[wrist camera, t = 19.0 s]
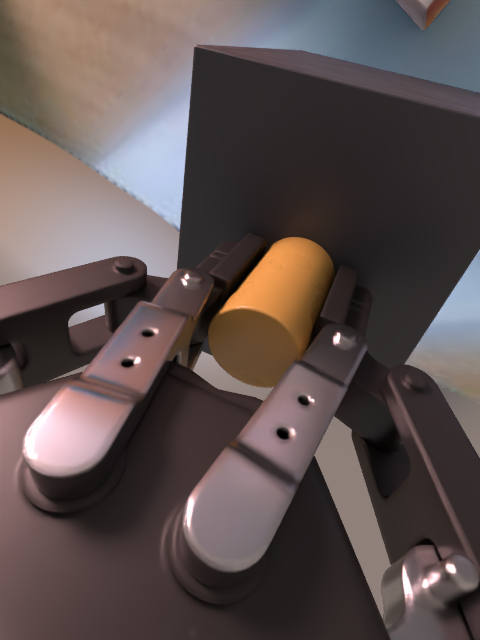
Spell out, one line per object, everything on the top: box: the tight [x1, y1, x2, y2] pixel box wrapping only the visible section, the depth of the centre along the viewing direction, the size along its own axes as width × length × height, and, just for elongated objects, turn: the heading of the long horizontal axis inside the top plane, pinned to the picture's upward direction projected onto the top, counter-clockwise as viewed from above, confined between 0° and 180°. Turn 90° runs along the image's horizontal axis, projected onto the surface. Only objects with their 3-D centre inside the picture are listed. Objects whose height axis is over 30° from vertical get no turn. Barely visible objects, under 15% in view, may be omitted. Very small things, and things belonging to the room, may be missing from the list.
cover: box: [177, 45, 480, 388], centre depth 17 cm, size 10×12×18 cm
